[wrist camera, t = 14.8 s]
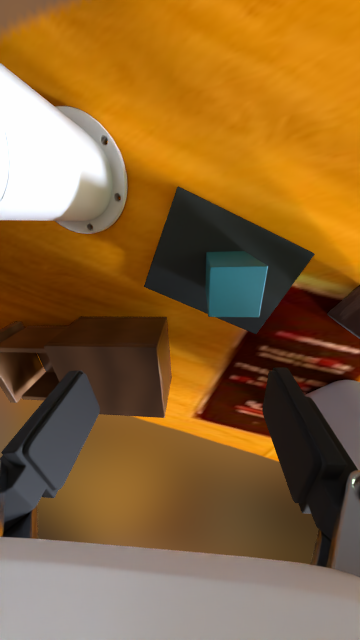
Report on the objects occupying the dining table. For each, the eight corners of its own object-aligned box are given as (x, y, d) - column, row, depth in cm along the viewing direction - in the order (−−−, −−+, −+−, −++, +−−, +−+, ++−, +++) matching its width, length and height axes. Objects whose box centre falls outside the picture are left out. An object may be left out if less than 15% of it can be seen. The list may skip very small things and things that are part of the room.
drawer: (22, 372, 40) (-11, 401, 34) (-6, 321, 35) (-53, 343, 28) (106, 375, 39) (88, 406, 32) (91, 321, 33) (65, 345, 27)
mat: (144, 285, 30) (143, 286, 30) (178, 186, 24) (177, 186, 23) (255, 332, 32) (255, 334, 32) (313, 253, 26) (315, 253, 25)
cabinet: (98, 374, 40) (72, 412, 32) (80, 316, 34) (43, 345, 26) (171, 376, 38) (164, 417, 30) (166, 316, 32) (156, 347, 24)
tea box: (205, 288, 29) (208, 317, 20) (206, 252, 27) (210, 266, 18) (240, 287, 28) (259, 317, 20) (244, 251, 26) (268, 265, 17)
